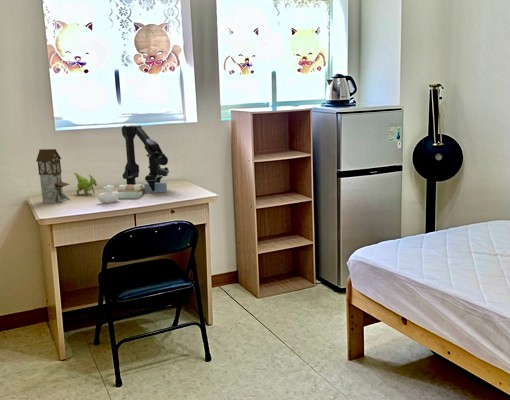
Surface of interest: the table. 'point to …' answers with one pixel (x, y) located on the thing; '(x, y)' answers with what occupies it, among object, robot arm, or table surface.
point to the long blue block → (156, 187)
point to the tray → (129, 195)
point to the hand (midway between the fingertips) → (155, 189)
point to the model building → (51, 176)
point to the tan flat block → (133, 191)
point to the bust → (108, 195)
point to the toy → (85, 184)
